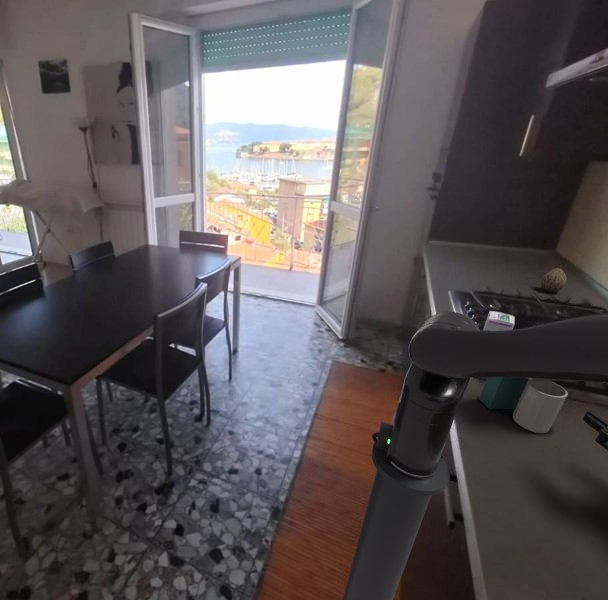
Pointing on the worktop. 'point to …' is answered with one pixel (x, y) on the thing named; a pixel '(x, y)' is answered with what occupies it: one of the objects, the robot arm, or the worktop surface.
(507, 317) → the syrup box
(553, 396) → the cup
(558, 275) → the decorative egg
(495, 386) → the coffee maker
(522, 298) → the worktop surface
